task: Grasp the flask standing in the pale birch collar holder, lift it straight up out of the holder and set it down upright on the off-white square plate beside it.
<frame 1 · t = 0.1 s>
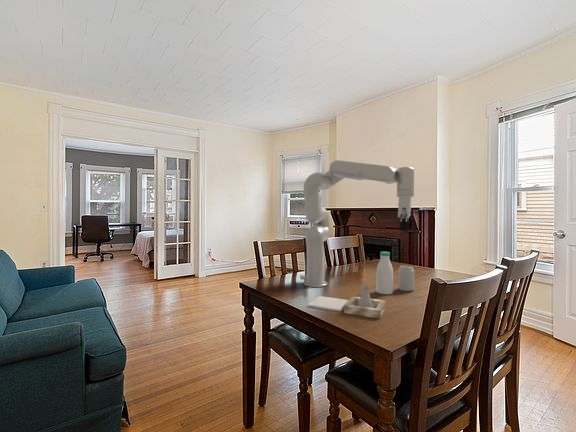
hand: (404, 229, 147), 31 cm above the table, tool pointing down, fingers open, 9 cm apart
flask: (365, 310, 126), resting in holder
milk bottle: (384, 293, 152), on the table
can: (405, 290, 157), on the table
holder: (365, 310, 126), on the table
plate: (328, 304, 134), on the table
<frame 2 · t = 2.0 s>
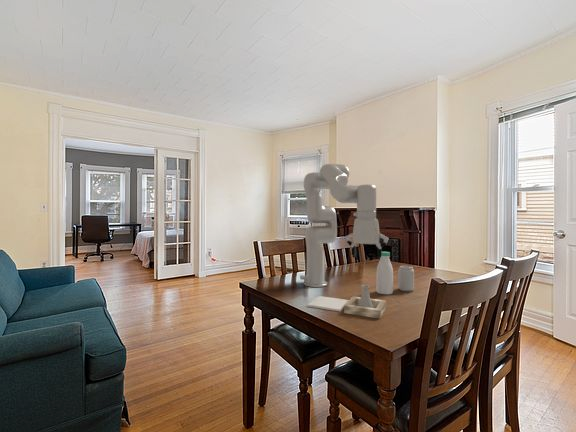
hand: (366, 257, 125), 21 cm above the table, tool pointing down, fingers open, 9 cm apart
nothing on the table moved.
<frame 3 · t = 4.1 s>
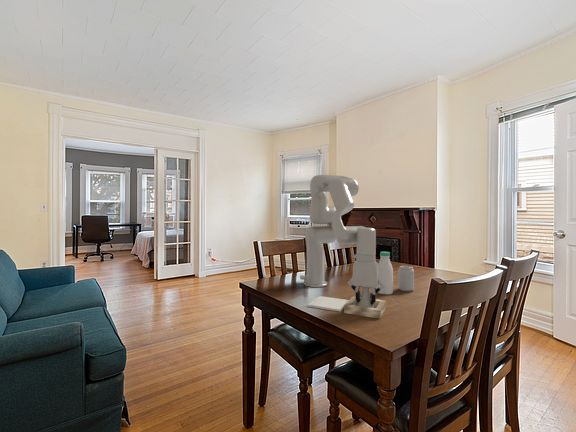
hand: (365, 302, 126), 3 cm above the table, tool pointing down, fingers closed on flask, 5 cm apart
flask: (365, 310, 126), resting in holder, touching gripper
everything else where it was.
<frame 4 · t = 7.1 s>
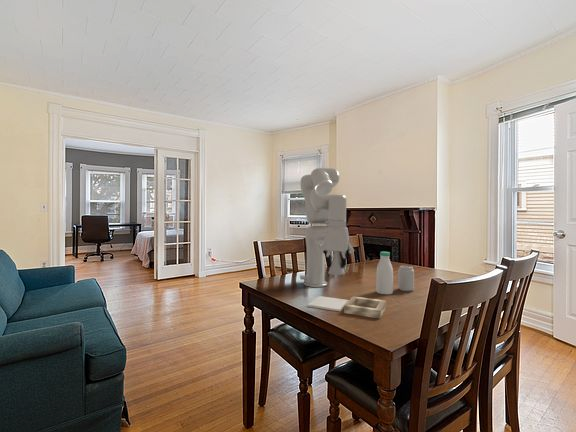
hand: (336, 266, 132), 17 cm above the table, tool pointing down, fingers closed on flask, 5 cm apart
flask: (336, 274, 132), point 13 cm above the table, touching gripper
everything else where it was.
when the fingers open (5 cm above the table, at t = 10.1 s): flask drops 1 cm, resting on plate.
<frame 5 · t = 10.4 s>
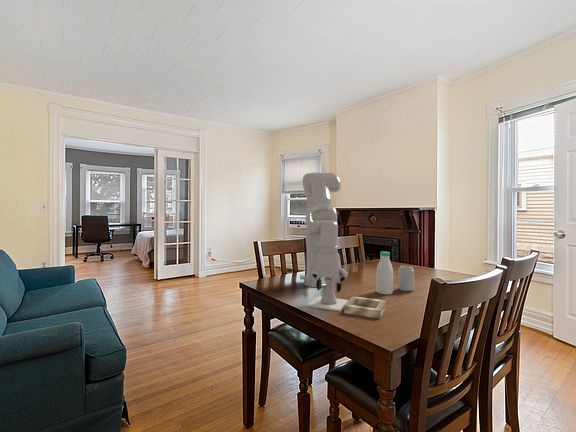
hand: (328, 290, 134), 6 cm above the table, tool pointing down, fingers open, 8 cm apart
flask: (328, 302, 134), point 1 cm above the table, touching plate
everything else where it was.
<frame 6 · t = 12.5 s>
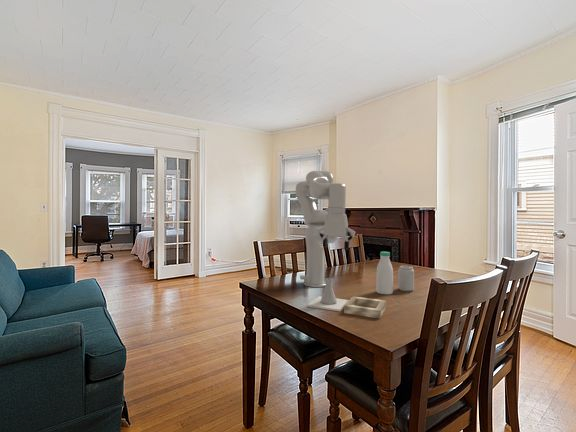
hand: (335, 249, 139), 23 cm above the table, tool pointing down, fingers open, 9 cm apart
nothing on the table moved.
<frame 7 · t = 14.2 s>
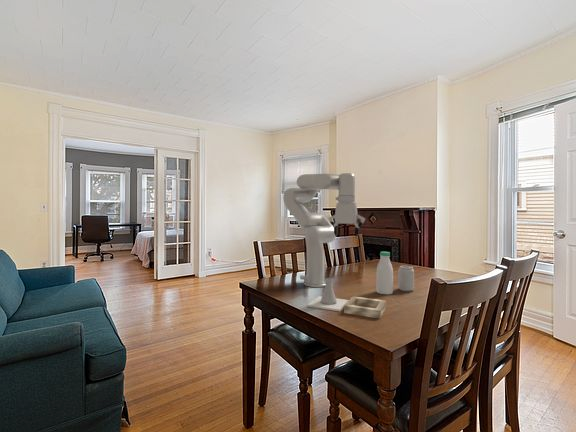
hand: (346, 235, 147), 28 cm above the table, tool pointing down, fingers open, 9 cm apart
nothing on the table moved.
at the end: flask inside the target area on the plate (0.1 cm from its centre), point 0.6 cm above the plate's base; flask tilted 0°; the gripper is holding nothing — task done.
